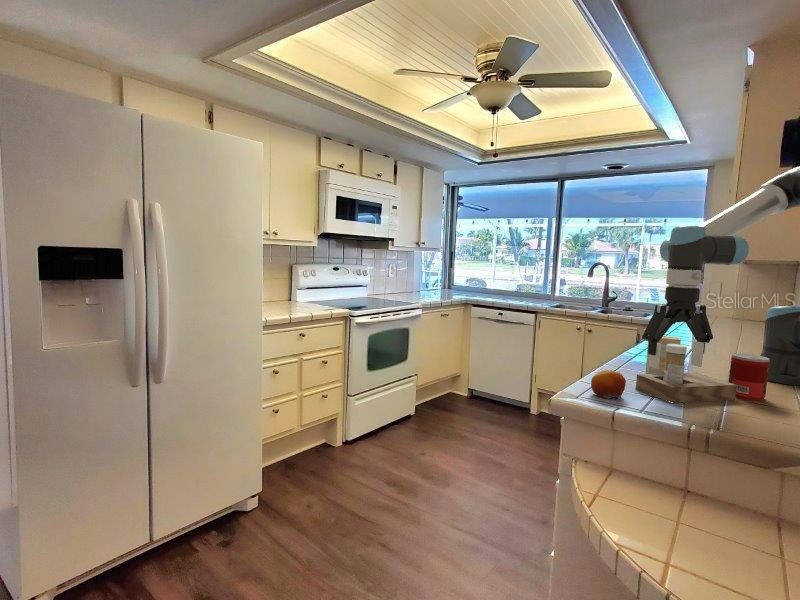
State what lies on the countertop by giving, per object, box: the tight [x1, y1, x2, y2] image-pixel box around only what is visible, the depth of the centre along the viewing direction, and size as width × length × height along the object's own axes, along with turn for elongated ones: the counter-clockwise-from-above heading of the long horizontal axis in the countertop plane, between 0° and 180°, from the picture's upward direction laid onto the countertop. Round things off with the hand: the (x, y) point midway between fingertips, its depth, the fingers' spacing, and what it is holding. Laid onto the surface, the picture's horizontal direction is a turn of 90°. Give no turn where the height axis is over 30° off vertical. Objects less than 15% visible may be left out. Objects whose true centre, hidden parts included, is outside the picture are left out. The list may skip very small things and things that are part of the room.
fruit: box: [590, 369, 627, 401], centre depth 114 cm, size 8×8×8 cm
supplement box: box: [644, 335, 682, 374], centre depth 132 cm, size 8×5×13 cm, turn 56°
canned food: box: [728, 352, 770, 402], centre depth 118 cm, size 8×8×11 cm
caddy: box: [635, 372, 737, 403], centre depth 118 cm, size 20×12×4 cm, turn 103°
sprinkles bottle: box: [663, 344, 688, 384], centre depth 117 cm, size 5×5×14 cm
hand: (675, 366), depth 117 cm, fingers open, 13 cm apart
